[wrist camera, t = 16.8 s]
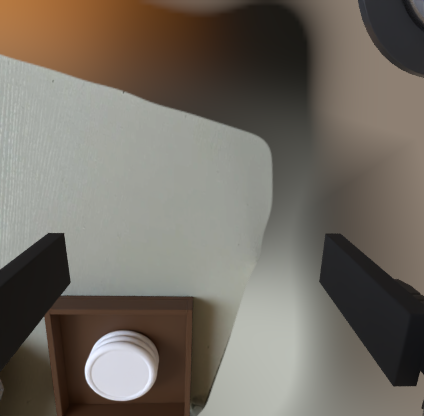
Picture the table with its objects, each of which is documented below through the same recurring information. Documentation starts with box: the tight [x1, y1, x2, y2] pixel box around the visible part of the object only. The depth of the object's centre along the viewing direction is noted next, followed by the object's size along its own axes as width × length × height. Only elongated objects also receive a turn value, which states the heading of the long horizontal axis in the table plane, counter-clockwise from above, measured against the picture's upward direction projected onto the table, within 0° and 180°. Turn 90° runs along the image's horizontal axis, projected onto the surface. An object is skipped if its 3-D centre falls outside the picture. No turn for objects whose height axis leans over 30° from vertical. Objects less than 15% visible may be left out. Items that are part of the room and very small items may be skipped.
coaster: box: [85, 330, 159, 401], centre depth 44 cm, size 10×10×4 cm
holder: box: [44, 296, 193, 416], centre depth 45 cm, size 20×20×3 cm
